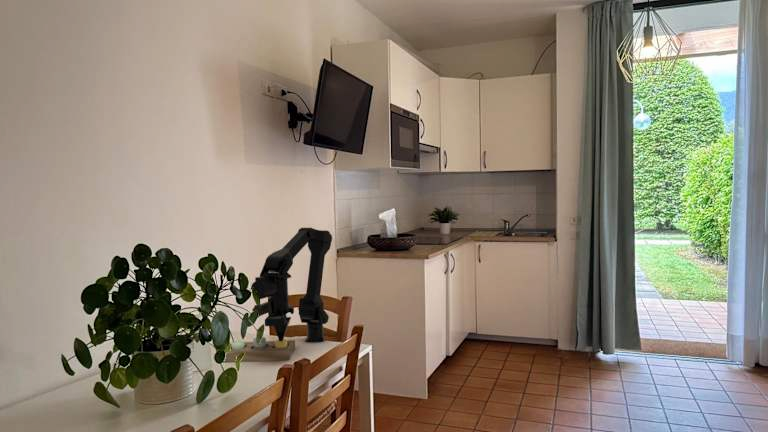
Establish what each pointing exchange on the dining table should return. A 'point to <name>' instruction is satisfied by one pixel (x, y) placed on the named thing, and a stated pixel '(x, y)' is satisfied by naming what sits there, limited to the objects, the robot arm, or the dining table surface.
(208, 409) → the dining table surface
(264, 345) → the button slate
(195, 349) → the cup
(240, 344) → the button sage
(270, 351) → the brown button tray
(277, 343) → the button amber
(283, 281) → the robot arm
